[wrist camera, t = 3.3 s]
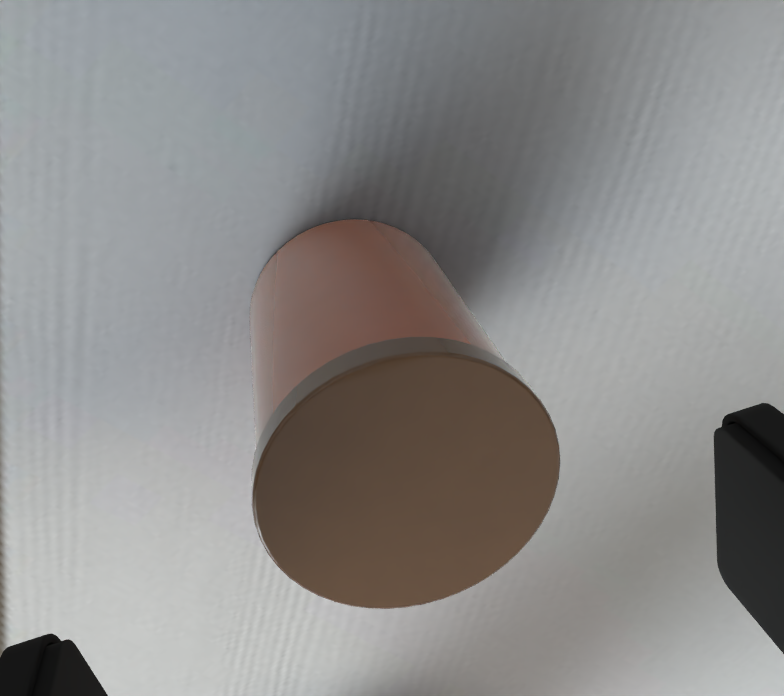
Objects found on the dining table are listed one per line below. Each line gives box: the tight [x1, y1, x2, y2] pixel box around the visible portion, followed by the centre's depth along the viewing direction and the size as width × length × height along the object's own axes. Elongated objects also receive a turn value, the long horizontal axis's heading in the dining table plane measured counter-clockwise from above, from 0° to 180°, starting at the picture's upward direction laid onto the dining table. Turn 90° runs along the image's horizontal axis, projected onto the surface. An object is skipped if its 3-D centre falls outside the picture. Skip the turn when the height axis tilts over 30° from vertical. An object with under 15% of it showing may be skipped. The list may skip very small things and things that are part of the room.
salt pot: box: [250, 219, 560, 609], centre depth 15 cm, size 5×5×7 cm
